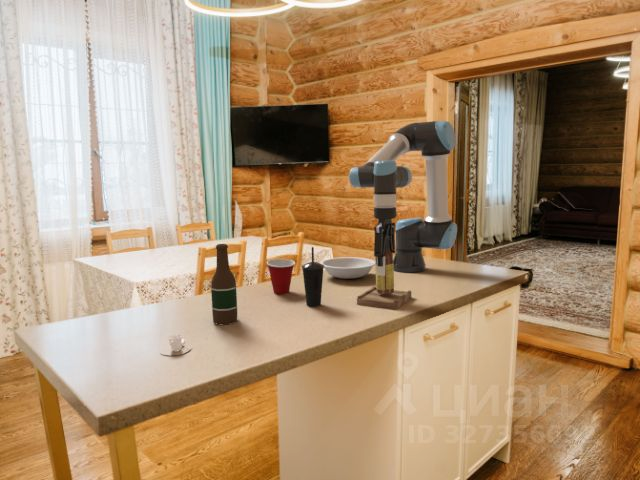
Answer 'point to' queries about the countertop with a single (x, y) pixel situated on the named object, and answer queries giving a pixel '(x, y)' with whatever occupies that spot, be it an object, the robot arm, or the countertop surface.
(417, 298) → the countertop surface
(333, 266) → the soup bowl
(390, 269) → the sauce bottle
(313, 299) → the drinking cup
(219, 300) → the beer bottle
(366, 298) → the board
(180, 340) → the teacup and saucer
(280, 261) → the plastic cup
